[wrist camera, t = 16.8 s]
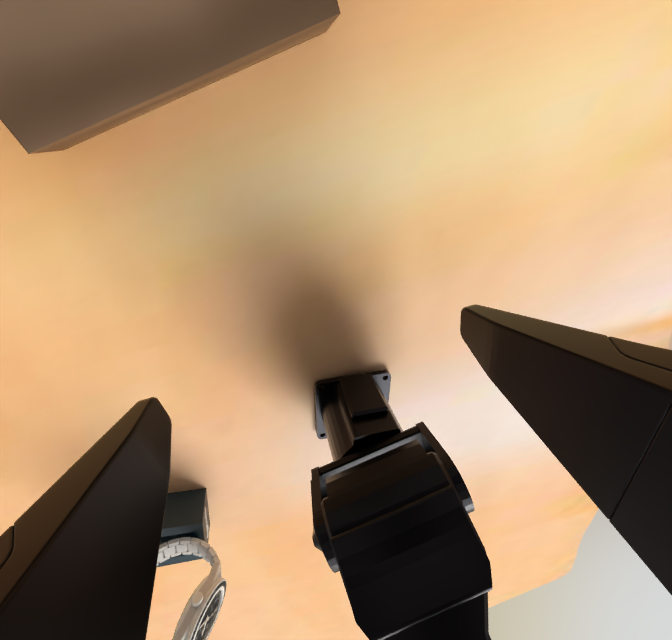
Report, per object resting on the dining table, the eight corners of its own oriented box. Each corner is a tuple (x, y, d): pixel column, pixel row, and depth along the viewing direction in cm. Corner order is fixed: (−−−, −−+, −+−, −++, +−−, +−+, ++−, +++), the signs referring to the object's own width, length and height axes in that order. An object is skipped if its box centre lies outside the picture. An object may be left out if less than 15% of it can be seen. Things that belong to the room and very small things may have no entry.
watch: (230, 520, 33) (224, 671, 24) (141, 534, 31) (96, 707, 22) (228, 484, 30) (221, 639, 21) (131, 497, 28) (75, 676, 19)
